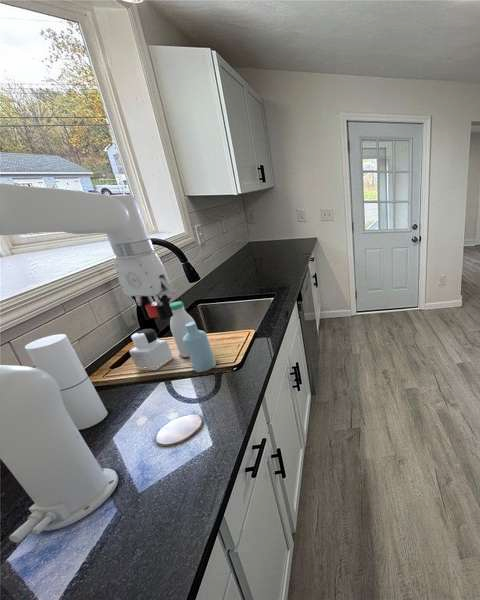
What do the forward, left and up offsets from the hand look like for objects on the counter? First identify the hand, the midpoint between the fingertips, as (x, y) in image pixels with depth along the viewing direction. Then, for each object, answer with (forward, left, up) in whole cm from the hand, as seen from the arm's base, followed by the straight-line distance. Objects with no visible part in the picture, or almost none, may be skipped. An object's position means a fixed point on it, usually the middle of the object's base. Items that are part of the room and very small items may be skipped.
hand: (159, 317), depth 82 cm
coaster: (-12, -5, -27) cm, 30 cm away
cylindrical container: (-7, +24, -27) cm, 37 cm away
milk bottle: (+27, +17, -27) cm, 42 cm away
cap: (0, 0, +1) cm, 1 cm away
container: (+20, +26, -27) cm, 43 cm away
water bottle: (+17, +6, -27) cm, 32 cm away
